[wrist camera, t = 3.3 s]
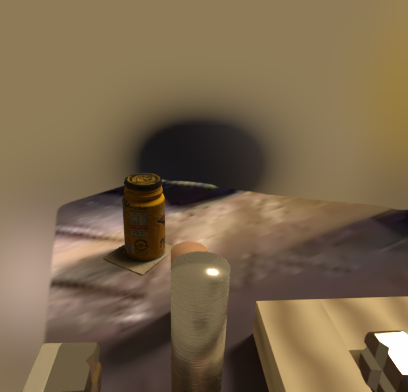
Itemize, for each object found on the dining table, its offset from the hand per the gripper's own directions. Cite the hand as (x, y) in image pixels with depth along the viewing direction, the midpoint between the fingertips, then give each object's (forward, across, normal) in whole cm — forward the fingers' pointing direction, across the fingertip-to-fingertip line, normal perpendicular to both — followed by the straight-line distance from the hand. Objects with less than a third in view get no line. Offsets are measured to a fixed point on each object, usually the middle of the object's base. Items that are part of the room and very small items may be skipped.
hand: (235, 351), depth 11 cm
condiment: (+39, +6, +22) cm, 45 cm away
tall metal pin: (+12, 0, +21) cm, 25 cm away
